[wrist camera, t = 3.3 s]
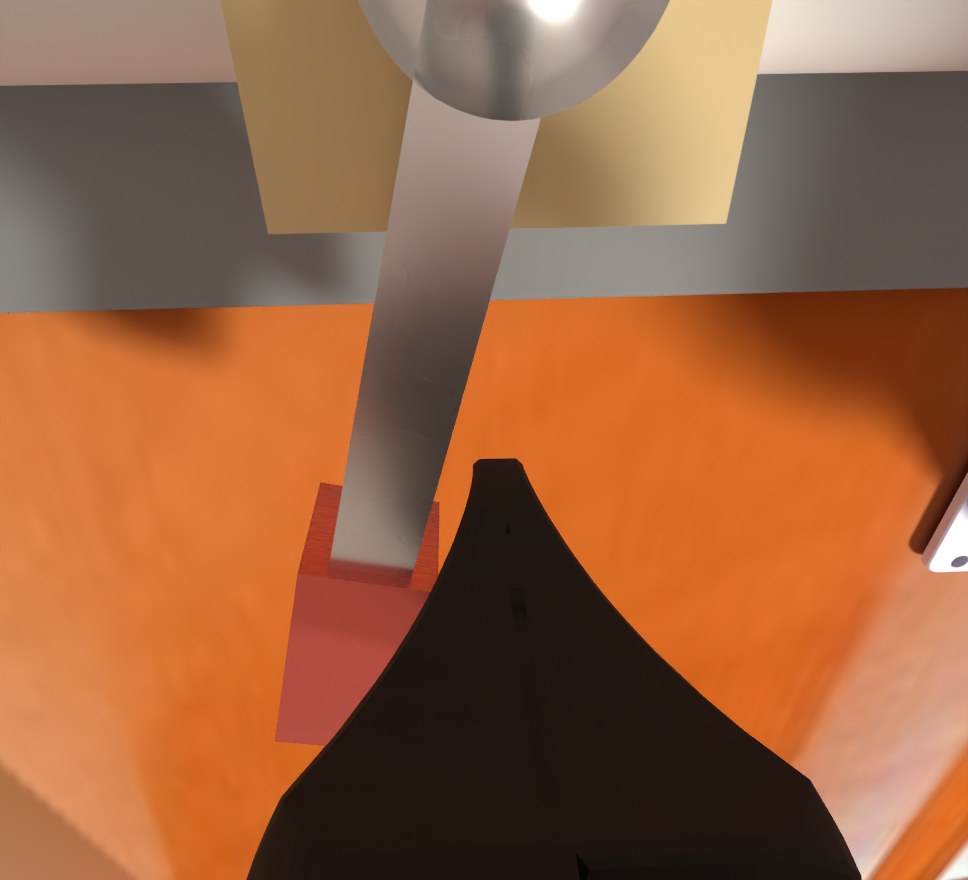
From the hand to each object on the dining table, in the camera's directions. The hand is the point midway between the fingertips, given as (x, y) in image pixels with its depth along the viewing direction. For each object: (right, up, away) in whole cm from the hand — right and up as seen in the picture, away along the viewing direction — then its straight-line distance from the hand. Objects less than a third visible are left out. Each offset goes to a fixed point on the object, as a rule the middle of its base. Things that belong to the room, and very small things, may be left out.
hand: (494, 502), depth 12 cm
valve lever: (-1, +2, -2) cm, 3 cm away
